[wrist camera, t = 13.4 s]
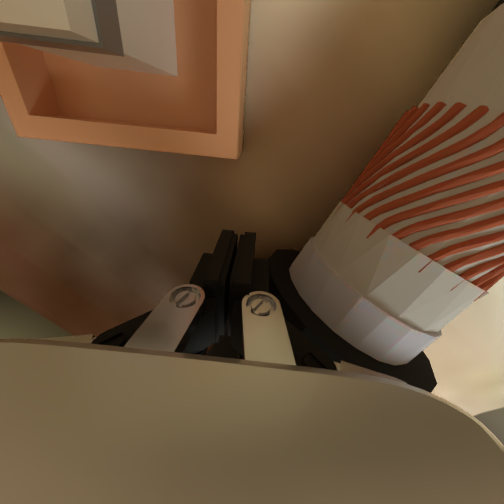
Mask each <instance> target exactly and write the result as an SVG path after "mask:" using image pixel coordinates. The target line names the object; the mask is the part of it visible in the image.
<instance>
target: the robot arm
mask: <svg viewBox="0 0 504 504" xmlns="http://www.w3.org/2000/svg"><path fill="white" fill-rule="evenodd" d="M255 238H256V233H251V232H245V235H243V234H241V235H240V240H239V244H238V248H237V240H238V234H234V231H231V230H222V232H221V235H220V237H219V240H218V242H217V245H216V247H215V250H214V252H213V254H209V253H204V254H203V255H202V257H201V259H200V262H199V264H198V266H197V268H196V270H195V272H194V274H193V276H192V278H191V281H190V283H189V284H182V285H179V286H176V287H174V288H172V289H171V290H170V291H169V292H168V293H167V294H166V295H165V296H164V297H163V299H162V300H161V301H160V302H159V304H158V305H157V306H156V307H155V309H154V310H152V311H149V312H147V313H145V314H143V315H141V316H138V317H136V318H134V319H132V320H129V321H127V322H125V323H123V324H120V325H118V326H116V327H114V328H112V329H109V330H107V331H105V332H104V333H102V334H100V335H99V336H98V337H95V336H94V334H90V335H79V336H68V337H57V338H47V339H0V504H504V445H503V444H502V443H501V442H500V441H499V440H498V439H497V438H496V437H495V435H494V434H492V433H491V431H489V430H488V429H487V428H486V427H485V426H484V425H483V424H482V423H481V422H480V421H478V420H477V419H476V418H474V417H473V416H472V415H471V414H469V413H468V412H466V411H464V410H463V409H461V408H459V407H458V406H456V405H454V404H452V403H450V402H449V401H447V400H445V399H443V398H441V397H438V396H436V395H434V394H432V393H429V392H427V391H425V390H423V389H420V388H417V387H414V386H411V385H408V384H407V383H406V382H404V381H402V380H400V379H398V378H395V377H391V376H388V375H385V374H382V373H379V372H376V371H373V370H369V369H366V368H363V367H360V366H357V365H354V364H350V363H347V362H344V361H341V362H340V363H337V362H334V361H333V360H332V358H331V357H330V356H329V355H328V354H327V353H326V352H324V351H323V350H322V349H321V348H320V347H318V346H317V345H316V344H315V343H314V342H312V341H311V340H310V339H309V338H308V337H306V336H305V335H304V334H303V333H302V332H300V331H299V330H298V329H297V328H296V327H294V326H293V325H292V324H291V323H290V322H288V321H287V320H286V319H285V318H284V317H283V313H282V309H281V305H280V303H279V300H278V299H277V298H276V297H275V296H273V295H272V294H270V293H269V259H259V258H254V249H255ZM227 320H228V336H231V345H232V346H233V347H234V348H235V349H236V350H237V352H238V359H234V358H224V357H215V356H206V353H207V347H208V346H210V345H211V344H213V343H214V342H216V343H218V342H219V337H220V335H225V330H226V325H227Z"/></svg>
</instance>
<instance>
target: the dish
mask: <svg viewBox="0 0 504 504" xmlns="http://www.w3.org/2000/svg"><path fill="white" fill-rule="evenodd" d="M173 1H174V19H175V37H176V54H177V72H178V77H177V76H169V75H161V74H153V73H145V72H137V71H129V70H120V69H112V68H104V67H97V66H94V65H90V64H87V63H83V62H80V61H76V60H73V59H69V58H66V57H62V56H59V55H55V54H52V53H48V52H45V51H41V50H38V49H34V48H31V47H27V46H24V45H20V44H17V43H9V42H1V41H0V95H1V97H2V99H3V102H4V104H5V107H6V109H7V111H8V114H9V116H10V119H11V121H12V123H13V126H14V128H15V131H16V133H17V135H18V137H28V138H37V139H47V140H56V141H66V142H76V143H85V144H95V145H104V146H114V147H124V148H133V149H143V150H152V151H162V152H172V153H181V154H191V155H200V156H210V157H219V158H229V159H237V158H238V157H239V156H240V154H241V153H242V147H243V130H244V113H245V96H246V79H247V62H248V45H249V27H250V10H251V0H173Z"/></svg>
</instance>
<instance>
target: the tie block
mask: <svg viewBox="0 0 504 504" xmlns="http://www.w3.org/2000/svg"><path fill="white" fill-rule="evenodd" d="M0 41H1V42H9V43H17V44H20V45H24V46H27V47H31V48H34V49H38V50H41V51H45V52H48V53H52V54H55V55H59V56H62V57H66V58H69V59H73V60H76V61H80V62H83V63H87V64H90V65H94V66H97V67H104V68H112V69H120V70H129V71H137V72H145V73H153V74H161V75H169V76H177V77H178V72H177V54H176V37H175V19H174V1H173V0H0Z"/></svg>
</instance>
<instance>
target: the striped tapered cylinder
mask: <svg viewBox="0 0 504 504" xmlns="http://www.w3.org/2000/svg"><path fill="white" fill-rule="evenodd" d="M503 276H504V0H500V1H499V2H498V3H497V5H496V6H495V7H494V9H493V10H492V11H491V13H490V14H489V15H487V16H486V17H485V18H483V19H482V20H481V21H480V22H479V24H478V25H477V26H476V28H475V29H474V30H473V32H472V33H471V34H470V36H469V37H468V39H467V40H466V41H465V43H464V44H463V45H462V47H461V48H460V49H459V51H458V52H457V53H456V55H455V56H454V58H453V59H452V60H451V62H450V63H449V64H448V66H447V67H446V68H445V70H444V71H443V72H442V74H441V75H440V77H439V78H438V79H437V81H436V82H435V83H434V85H433V86H432V87H431V89H430V90H429V91H428V93H427V94H426V96H425V97H424V98H423V100H422V101H421V102H420V104H419V105H418V106H417V107H415V106H413V107H412V108H411V110H410V111H406V112H405V113H404V114H403V116H402V117H401V119H400V120H399V121H398V123H397V124H396V126H395V127H394V129H393V130H392V131H391V133H390V134H389V136H388V137H387V139H386V140H385V141H384V143H383V144H382V146H381V147H380V148H379V150H378V151H377V153H376V154H375V155H374V157H373V158H372V160H371V161H370V162H369V163H368V165H367V166H366V168H365V169H364V170H363V172H362V173H361V175H360V176H359V177H358V179H357V180H356V182H355V183H354V184H353V186H352V187H351V189H350V190H349V192H348V193H347V195H346V196H345V197H344V198H343V199H342V201H340V202H339V203H338V205H337V206H336V208H335V209H334V210H333V212H332V213H331V214H330V216H329V217H328V219H327V220H326V221H325V223H324V224H323V226H322V227H321V228H320V230H319V231H318V233H317V234H316V235H315V237H311V238H310V239H309V241H308V242H307V243H306V245H305V246H304V248H303V249H302V251H301V252H299V251H296V250H277V251H276V252H275V253H274V254H272V255H271V256H270V257H269V293H270V294H272V295H273V296H275V297H276V298H277V299H278V300H279V303H280V305H281V309H282V313H283V317H284V318H285V319H286V320H287V321H288V322H290V323H291V324H292V325H293V326H294V327H296V328H297V329H298V330H299V331H300V332H302V333H303V334H304V335H305V336H306V337H308V338H309V339H310V340H311V341H312V342H314V343H315V344H316V345H317V346H318V347H320V348H321V349H322V350H323V351H324V352H326V353H327V354H328V355H329V356H330V357H331V358H332V360H333V361H334V362H337V363H340V362H341V361H344V362H347V363H350V364H354V365H357V366H360V367H363V368H366V369H369V370H373V371H376V372H379V373H382V374H385V375H388V376H391V377H395V378H398V379H400V380H402V381H404V382H406V383H407V384H408V385H411V386H414V387H417V388H420V389H423V390H425V391H427V392H429V393H431V392H432V390H433V389H434V388H435V386H436V385H437V382H436V379H435V376H434V373H433V370H432V367H431V364H430V361H429V359H428V358H427V356H426V355H425V353H424V352H423V350H424V349H425V348H426V347H428V346H429V345H430V344H431V343H432V342H434V341H435V340H436V339H437V338H439V337H440V336H441V335H442V334H441V329H442V328H443V327H444V326H446V325H447V324H448V323H449V322H450V321H452V320H453V319H454V318H455V317H456V316H458V315H459V314H460V313H461V312H462V311H464V310H465V309H466V308H467V307H468V306H470V305H471V304H472V303H473V302H474V301H476V300H477V299H479V298H481V297H483V296H484V295H486V294H488V292H487V290H488V289H490V288H491V287H492V286H493V285H494V284H495V283H496V282H498V281H499V280H500V279H501V278H502V277H503ZM206 356H215V357H224V358H234V359H238V352H237V350H236V349H235V348H234V347H233V346H232V345H231V336H228V322H227V325H226V330H225V335H220V337H219V342H218V343H216V342H214V344H213V345H212V347H211V348H210V350H209V352H208V353H207V355H206Z"/></svg>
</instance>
